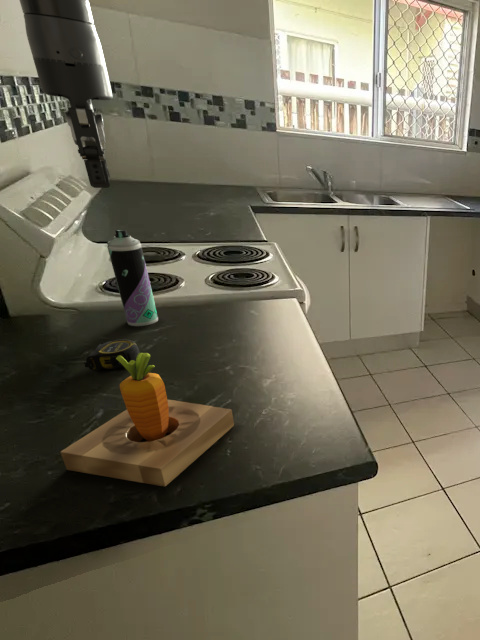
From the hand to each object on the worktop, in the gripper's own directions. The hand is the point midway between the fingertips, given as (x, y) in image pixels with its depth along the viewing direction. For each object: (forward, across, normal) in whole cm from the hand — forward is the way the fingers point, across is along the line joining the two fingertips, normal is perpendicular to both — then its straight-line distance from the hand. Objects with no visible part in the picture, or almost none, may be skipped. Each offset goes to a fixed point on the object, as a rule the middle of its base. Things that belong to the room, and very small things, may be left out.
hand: (101, 182), depth 71 cm
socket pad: (+33, +23, 0) cm, 40 cm away
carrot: (+33, +23, 0) cm, 41 cm away
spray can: (+33, -26, 0) cm, 42 cm away
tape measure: (+33, -6, -5) cm, 34 cm away
